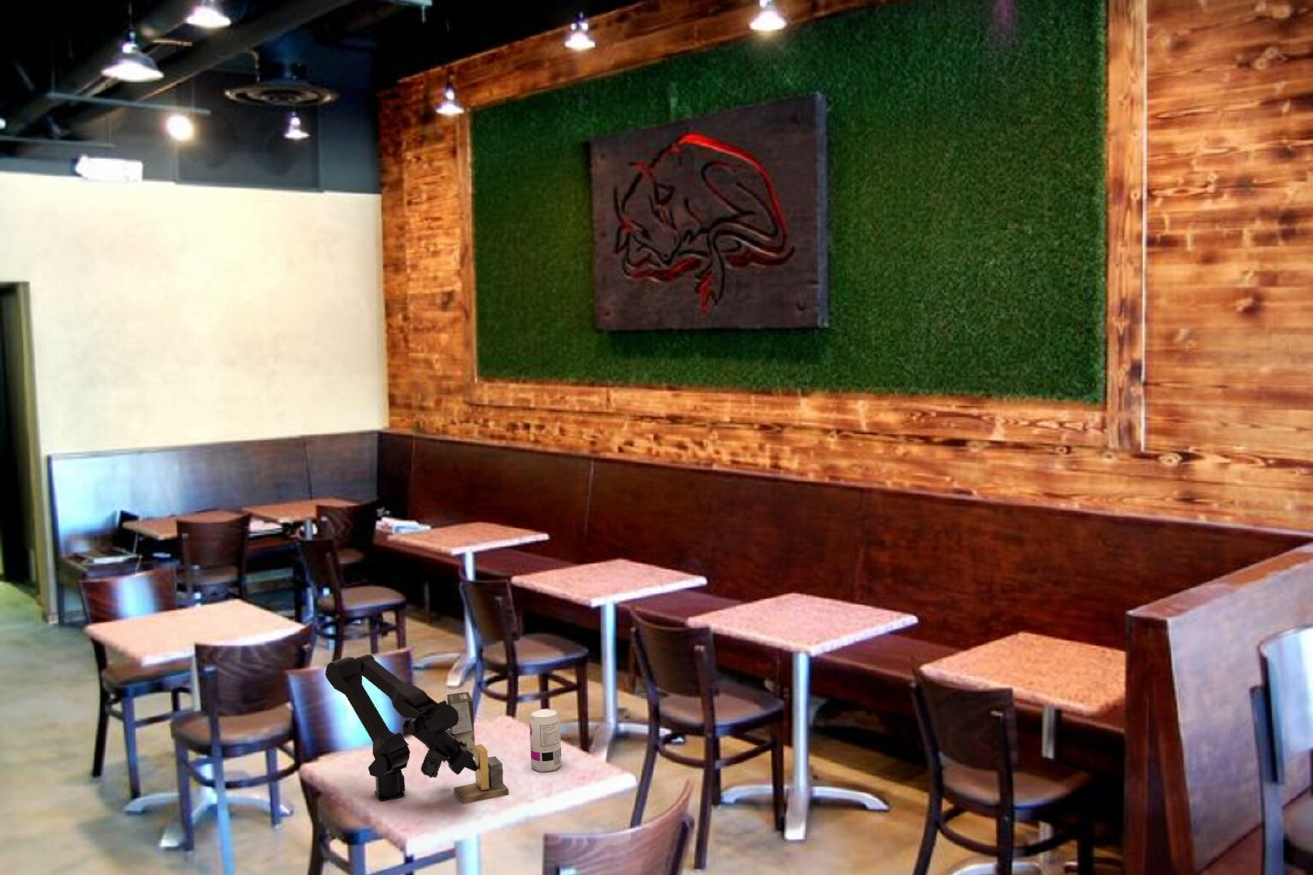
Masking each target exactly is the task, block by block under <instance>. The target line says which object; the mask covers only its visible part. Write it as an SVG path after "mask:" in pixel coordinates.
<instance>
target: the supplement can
mask: <svg viewBox="0 0 1313 875" xmlns="http://www.w3.org/2000/svg"><path fill="white" fill-rule="evenodd" d="M528 720H529V723H528V724H529V742H530V743H529V744H530V745H529V746H530V747H529V748H530V766H531V768H532V769H533V770H535V771H536V772H541V773H544V772H545V773H546V772H547V773H548V772H553V771H556V770H559V768H560V767H561V765H562V746H561V745H562V744H561V723H560V722H561V720H560V715H559V713H558V711H557V710H555V709H551V708H541V709H536V710H533V711H532V712H531V713H530V716H529V719H528Z"/></svg>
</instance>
